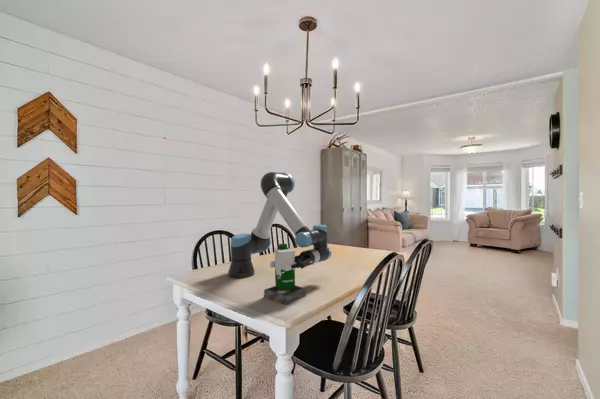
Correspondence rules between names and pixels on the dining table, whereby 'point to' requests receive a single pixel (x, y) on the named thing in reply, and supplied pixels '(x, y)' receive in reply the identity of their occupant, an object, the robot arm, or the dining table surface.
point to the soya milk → (282, 277)
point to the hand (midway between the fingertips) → (277, 266)
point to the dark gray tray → (284, 294)
